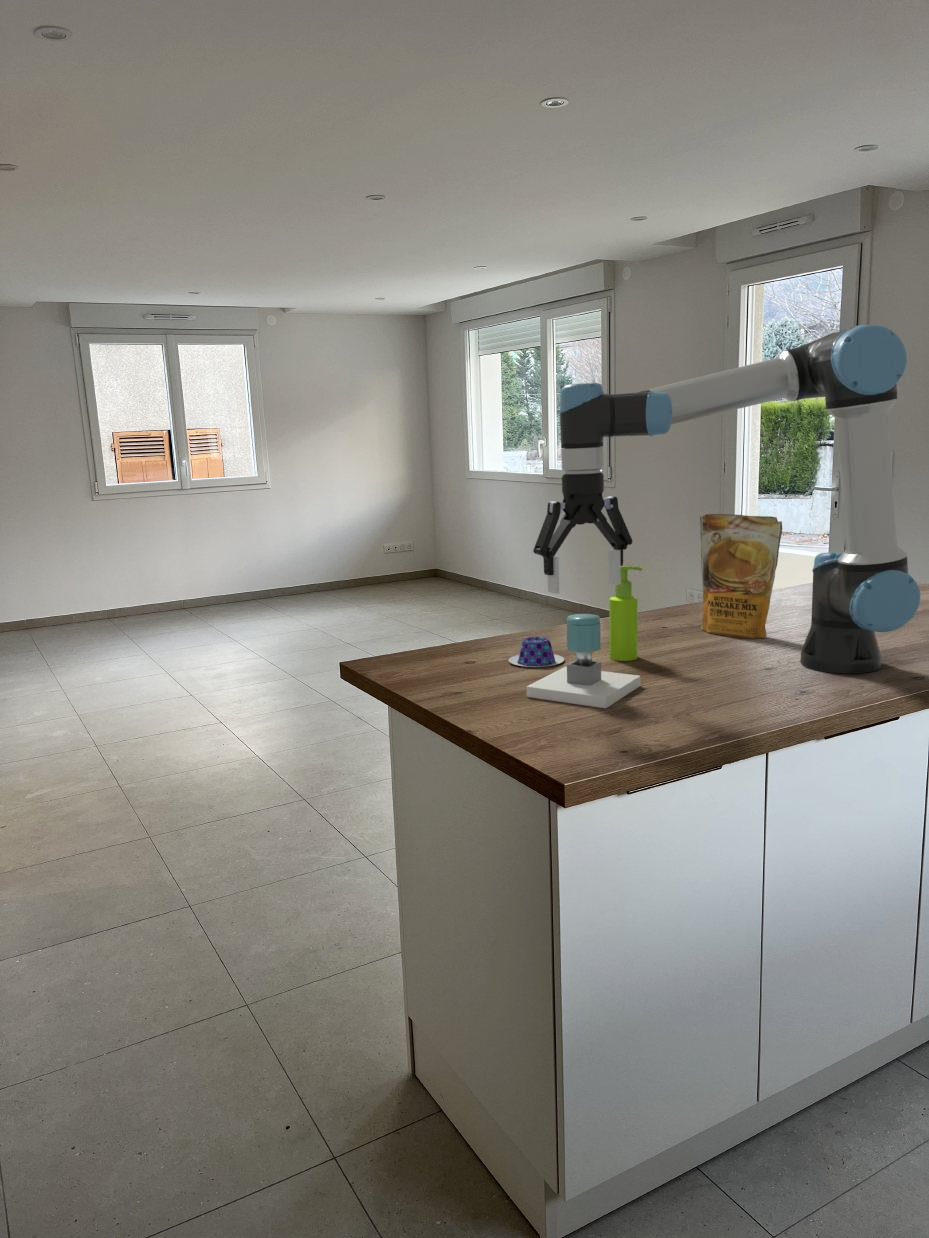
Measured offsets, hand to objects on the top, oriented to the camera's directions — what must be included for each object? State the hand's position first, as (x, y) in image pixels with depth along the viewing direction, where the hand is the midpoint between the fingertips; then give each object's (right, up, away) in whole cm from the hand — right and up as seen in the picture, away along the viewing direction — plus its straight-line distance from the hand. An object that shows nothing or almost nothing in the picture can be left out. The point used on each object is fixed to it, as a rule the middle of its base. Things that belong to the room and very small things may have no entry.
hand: (584, 588), depth 167 cm
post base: (0, -19, +4) cm, 20 cm away
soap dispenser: (+13, -14, +28) cm, 34 cm away
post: (0, -16, +3) cm, 16 cm away
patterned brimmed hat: (-7, -15, +27) cm, 32 cm away
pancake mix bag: (+42, -9, +46) cm, 63 cm away
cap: (0, -11, +2) cm, 11 cm away
